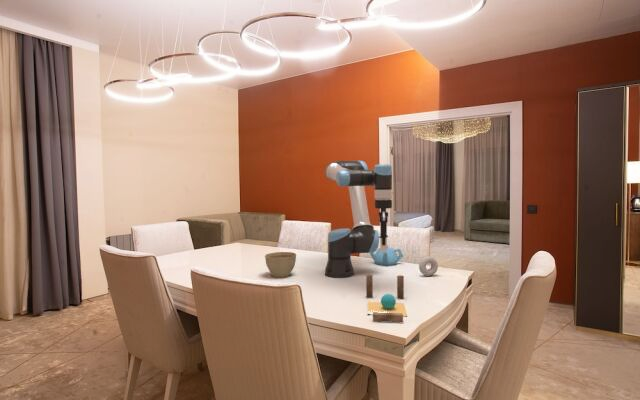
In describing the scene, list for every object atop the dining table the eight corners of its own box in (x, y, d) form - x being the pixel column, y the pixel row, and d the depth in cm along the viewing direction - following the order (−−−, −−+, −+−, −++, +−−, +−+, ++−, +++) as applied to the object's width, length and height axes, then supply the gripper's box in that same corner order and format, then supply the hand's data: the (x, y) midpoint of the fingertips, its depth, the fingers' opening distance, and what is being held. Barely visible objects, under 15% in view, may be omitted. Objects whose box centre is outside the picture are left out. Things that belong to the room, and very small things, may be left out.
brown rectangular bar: (373, 321, 125) (373, 314, 125) (373, 319, 127) (372, 312, 127) (402, 322, 124) (402, 315, 124) (402, 320, 126) (402, 313, 126)
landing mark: (367, 315, 131) (367, 314, 131) (367, 302, 145) (367, 301, 145) (407, 316, 130) (407, 315, 130) (403, 303, 143) (403, 303, 143)
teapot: (384, 267, 204) (384, 248, 203) (367, 263, 217) (367, 245, 216) (404, 264, 212) (404, 245, 212) (386, 259, 225) (386, 242, 224)
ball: (380, 293, 136) (380, 295, 142) (381, 308, 134) (380, 309, 139) (395, 292, 136) (394, 295, 141) (396, 308, 134) (395, 309, 139)
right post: (397, 298, 149) (397, 276, 149) (397, 296, 152) (396, 275, 151) (404, 298, 149) (403, 277, 149) (403, 297, 152) (403, 275, 151)
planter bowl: (276, 270, 201) (276, 250, 200) (302, 273, 194) (301, 253, 193) (258, 277, 187) (258, 256, 186) (285, 281, 179) (285, 258, 179)
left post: (366, 297, 151) (366, 276, 151) (366, 295, 154) (366, 274, 153) (372, 298, 151) (372, 276, 150) (372, 296, 153) (372, 274, 153)
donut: (435, 274, 187) (435, 255, 187) (439, 276, 184) (439, 256, 184) (417, 275, 185) (417, 256, 185) (421, 277, 182) (421, 257, 181)
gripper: (392, 199, 155) (393, 255, 156) (391, 198, 168) (391, 249, 169) (374, 200, 156) (375, 254, 157) (374, 198, 169) (375, 249, 170)
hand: (383, 252), depth 163 cm, fingers closed
